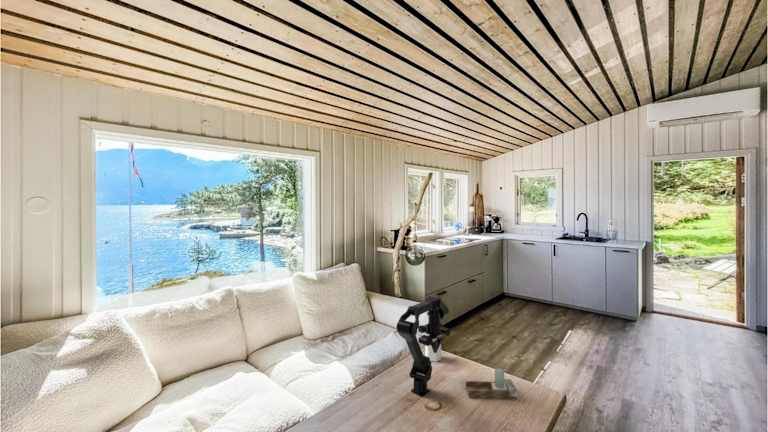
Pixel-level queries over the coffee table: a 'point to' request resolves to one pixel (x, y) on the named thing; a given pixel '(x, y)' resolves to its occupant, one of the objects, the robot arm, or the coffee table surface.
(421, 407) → the coffee table surface
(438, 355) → the jar
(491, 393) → the brown wooden open box
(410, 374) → the robot arm
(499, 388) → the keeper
